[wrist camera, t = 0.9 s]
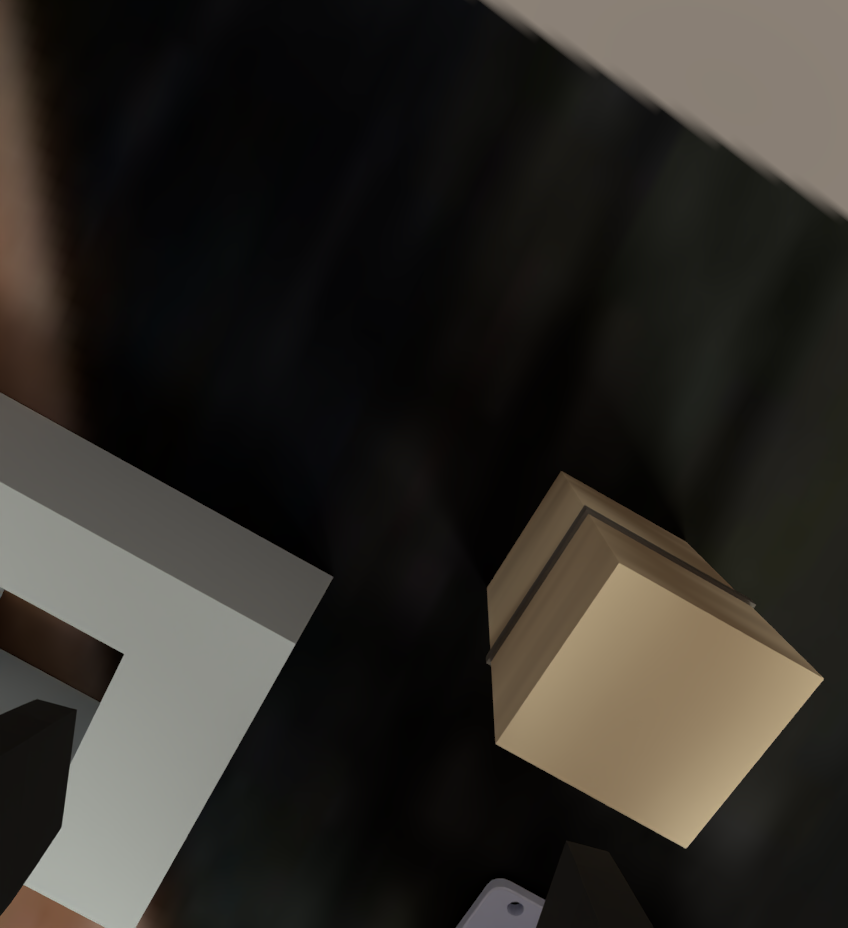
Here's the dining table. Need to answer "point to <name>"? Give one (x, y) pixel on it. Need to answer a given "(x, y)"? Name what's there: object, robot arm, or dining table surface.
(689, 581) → the peg
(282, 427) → the dining table surface
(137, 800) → the socket block
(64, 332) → the dining table surface
